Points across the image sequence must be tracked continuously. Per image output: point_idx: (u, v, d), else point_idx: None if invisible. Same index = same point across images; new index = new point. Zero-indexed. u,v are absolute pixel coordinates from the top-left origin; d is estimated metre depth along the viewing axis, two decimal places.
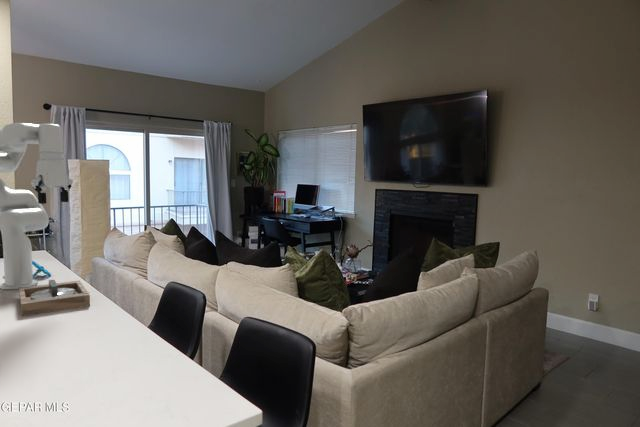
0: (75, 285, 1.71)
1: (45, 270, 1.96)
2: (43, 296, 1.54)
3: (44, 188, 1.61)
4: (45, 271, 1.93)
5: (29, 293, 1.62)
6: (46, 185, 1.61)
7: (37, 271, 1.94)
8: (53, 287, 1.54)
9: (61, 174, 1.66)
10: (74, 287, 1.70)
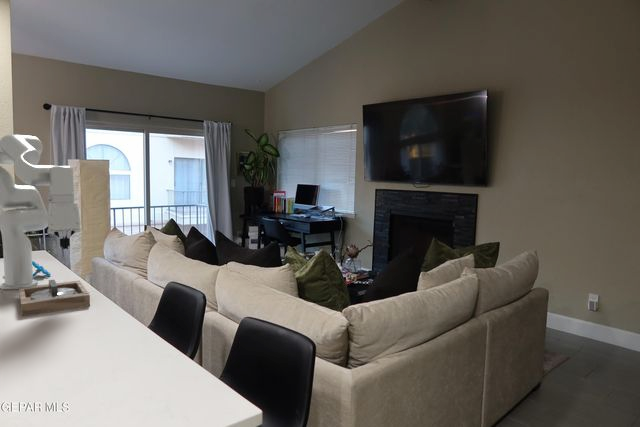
0: (75, 285, 1.71)
1: (44, 270, 1.96)
2: (43, 296, 1.54)
3: None
4: (44, 271, 1.93)
5: (29, 293, 1.62)
6: None
7: (36, 271, 1.94)
8: (53, 287, 1.54)
9: None
10: (74, 287, 1.70)
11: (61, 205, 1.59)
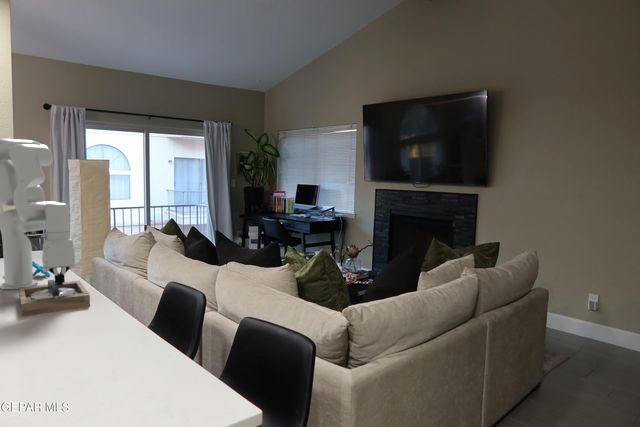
0: (75, 285, 1.71)
1: None
2: (44, 296, 1.54)
3: None
4: (43, 271, 1.92)
5: (29, 293, 1.62)
6: None
7: (36, 271, 1.94)
8: (54, 287, 1.54)
9: None
10: (74, 287, 1.70)
11: (56, 242, 1.59)
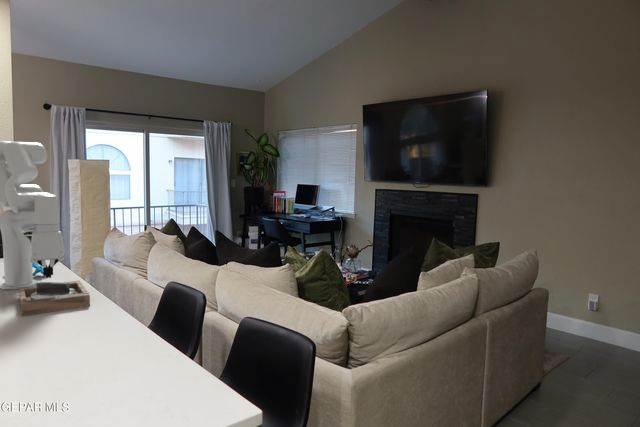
0: (75, 285, 1.71)
1: None
2: (56, 295, 1.56)
3: None
4: None
5: (29, 293, 1.62)
6: None
7: (35, 271, 1.94)
8: (67, 284, 1.58)
9: None
10: (74, 287, 1.70)
11: (45, 234, 1.57)
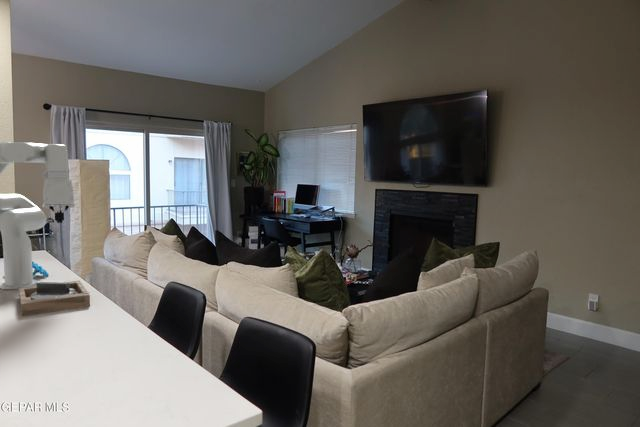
0: (75, 285, 1.71)
1: (42, 270, 1.95)
2: (56, 295, 1.56)
3: None
4: (41, 271, 1.92)
5: (29, 293, 1.62)
6: None
7: (34, 271, 1.93)
8: (67, 284, 1.58)
9: None
10: (74, 287, 1.70)
11: (56, 180, 1.69)
